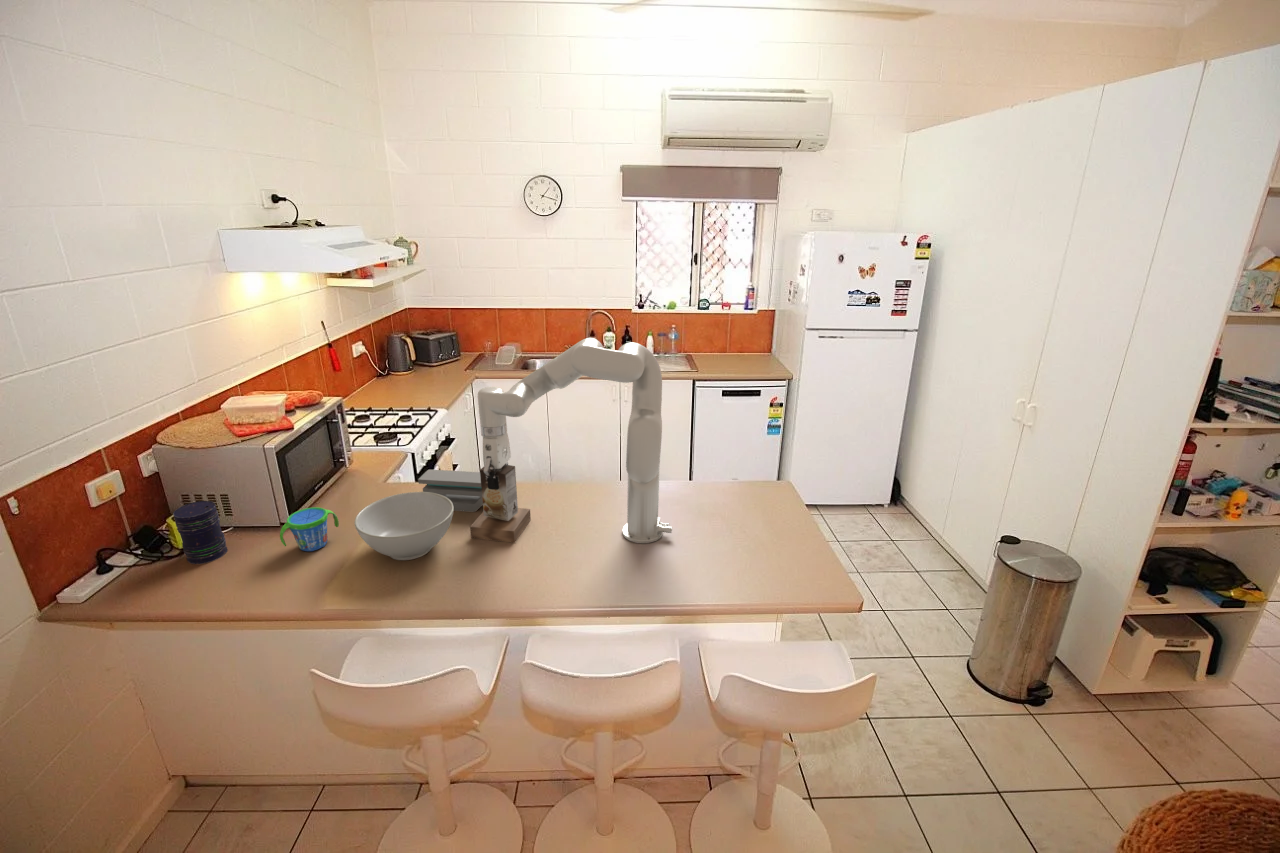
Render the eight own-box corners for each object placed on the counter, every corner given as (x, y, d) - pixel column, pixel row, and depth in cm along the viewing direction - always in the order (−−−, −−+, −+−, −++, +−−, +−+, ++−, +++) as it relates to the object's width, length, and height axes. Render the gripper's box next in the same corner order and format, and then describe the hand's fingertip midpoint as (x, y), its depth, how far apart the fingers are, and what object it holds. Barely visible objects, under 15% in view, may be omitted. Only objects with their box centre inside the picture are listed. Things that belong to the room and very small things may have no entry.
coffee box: (482, 516, 183) (478, 469, 178) (494, 507, 189) (489, 461, 183) (508, 521, 180) (504, 473, 175) (519, 511, 186) (515, 465, 180)
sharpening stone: (502, 502, 203) (499, 473, 199) (494, 513, 196) (492, 483, 192) (432, 497, 205) (428, 469, 202) (422, 508, 198) (418, 479, 194)
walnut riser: (530, 519, 192) (530, 509, 190) (514, 542, 179) (513, 531, 178) (489, 515, 194) (488, 504, 193) (471, 538, 181) (470, 526, 180)
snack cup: (288, 563, 168) (281, 531, 164) (279, 547, 175) (272, 517, 171) (346, 543, 178) (341, 513, 174) (336, 529, 185) (330, 500, 181)
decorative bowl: (339, 563, 168) (332, 526, 164) (405, 519, 191) (400, 485, 187) (416, 584, 159) (411, 545, 155) (475, 535, 183) (472, 500, 179)
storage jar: (183, 567, 165) (169, 520, 160) (189, 550, 173) (176, 505, 168) (226, 558, 169) (213, 512, 164) (230, 542, 178) (218, 497, 172)
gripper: (494, 440, 166) (499, 497, 172) (516, 419, 182) (520, 472, 188) (468, 439, 167) (474, 495, 174) (493, 418, 183) (498, 470, 190)
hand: (498, 483), depth 181 cm, fingers closed on coffee box, 7 cm apart
